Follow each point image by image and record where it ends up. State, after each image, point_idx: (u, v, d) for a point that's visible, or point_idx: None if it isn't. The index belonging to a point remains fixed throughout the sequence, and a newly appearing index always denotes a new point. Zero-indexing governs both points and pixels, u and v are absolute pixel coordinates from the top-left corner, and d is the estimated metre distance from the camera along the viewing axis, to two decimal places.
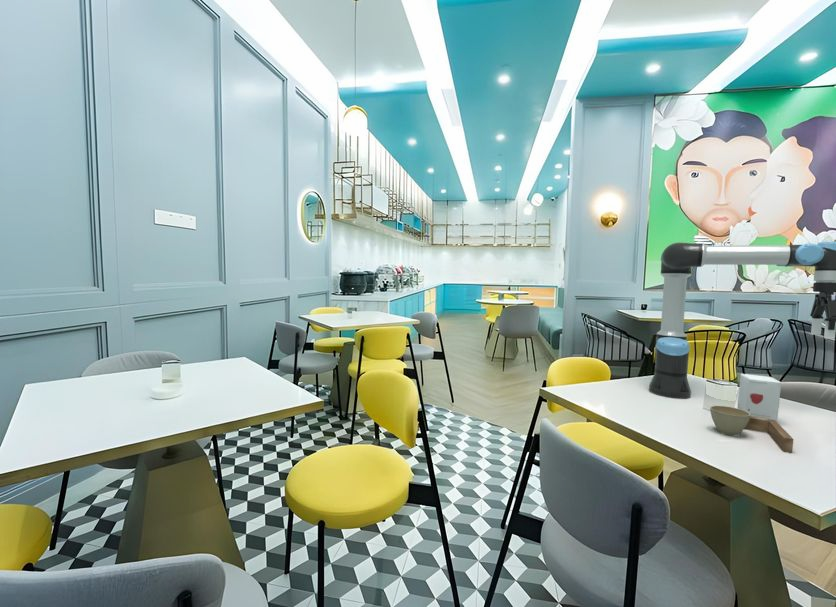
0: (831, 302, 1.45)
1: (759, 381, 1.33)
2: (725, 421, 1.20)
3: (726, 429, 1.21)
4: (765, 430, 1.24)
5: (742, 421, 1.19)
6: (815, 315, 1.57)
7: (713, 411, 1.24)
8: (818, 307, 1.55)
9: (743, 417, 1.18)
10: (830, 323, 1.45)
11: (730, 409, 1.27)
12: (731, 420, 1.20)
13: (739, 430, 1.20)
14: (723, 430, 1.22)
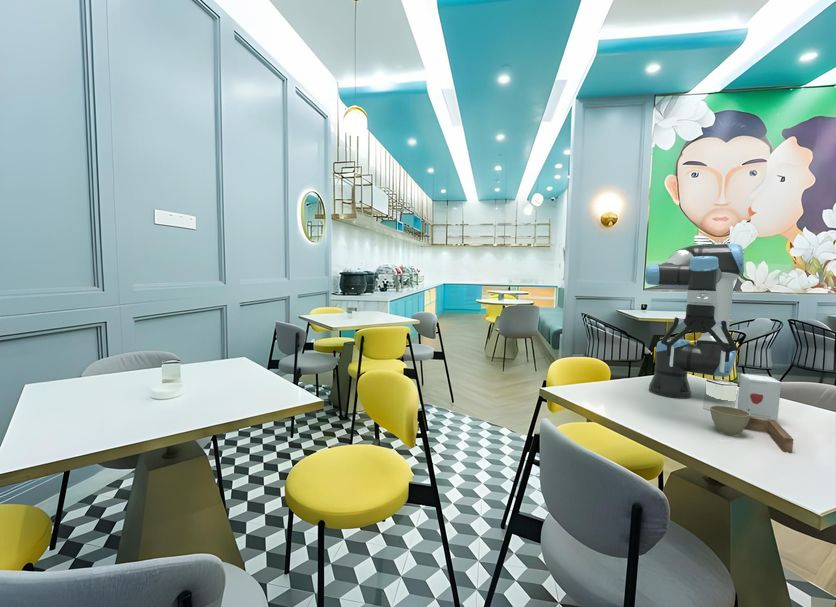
0: (672, 325, 1.31)
1: (759, 381, 1.33)
2: (725, 421, 1.20)
3: (726, 429, 1.21)
4: (765, 430, 1.24)
5: (742, 421, 1.19)
6: (722, 347, 1.25)
7: (713, 411, 1.24)
8: (711, 335, 1.26)
9: (743, 417, 1.18)
10: None
11: (730, 409, 1.27)
12: (731, 420, 1.20)
13: (739, 430, 1.20)
14: (723, 430, 1.22)
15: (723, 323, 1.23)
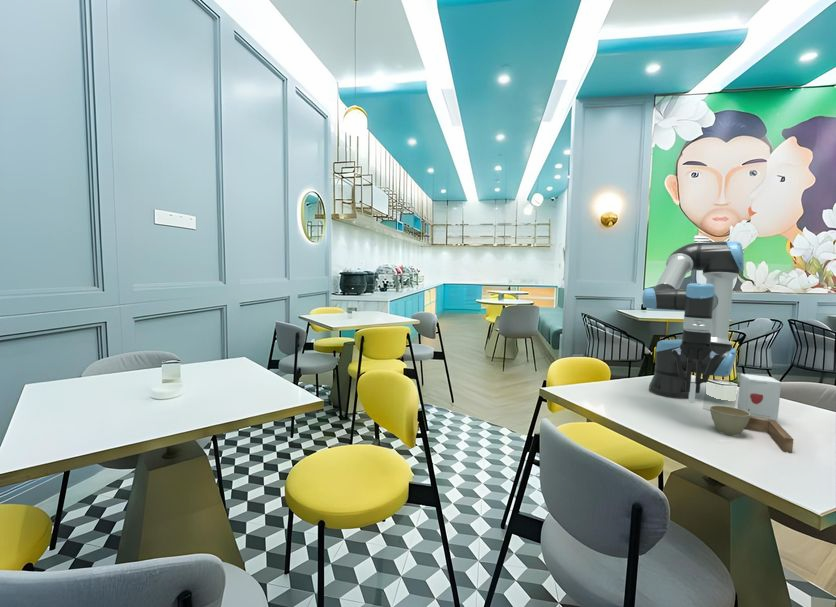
0: (675, 358, 1.30)
1: (759, 381, 1.33)
2: (725, 421, 1.20)
3: (726, 429, 1.21)
4: (765, 430, 1.24)
5: (742, 421, 1.19)
6: None
7: (713, 411, 1.24)
8: (696, 363, 1.28)
9: (743, 417, 1.18)
10: None
11: (730, 409, 1.27)
12: (731, 420, 1.20)
13: (739, 430, 1.20)
14: (723, 430, 1.22)
15: (716, 356, 1.23)
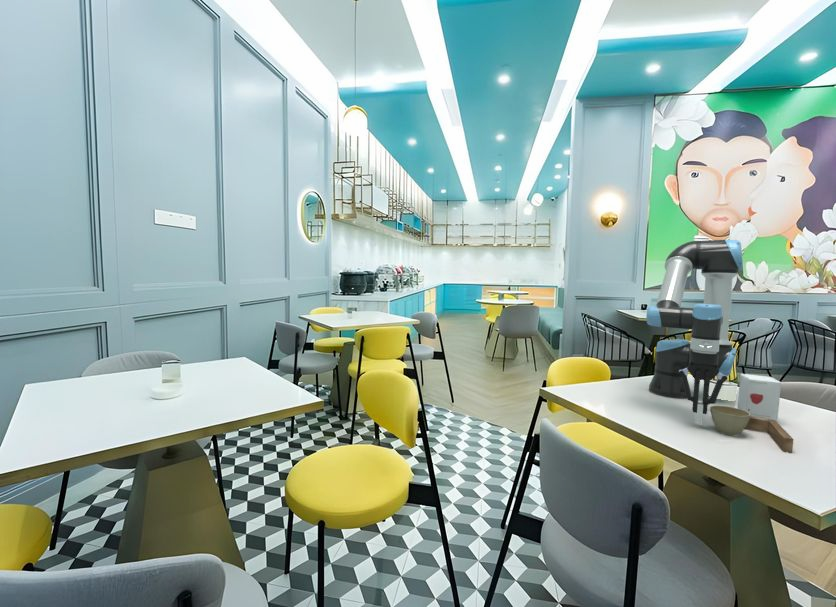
0: None
1: (759, 381, 1.33)
2: (725, 421, 1.20)
3: (726, 429, 1.21)
4: (765, 430, 1.24)
5: (742, 421, 1.19)
6: (703, 397, 1.27)
7: (713, 411, 1.24)
8: None
9: (743, 417, 1.18)
10: None
11: (730, 409, 1.27)
12: (731, 420, 1.20)
13: (739, 430, 1.20)
14: (723, 430, 1.22)
15: (723, 378, 1.23)
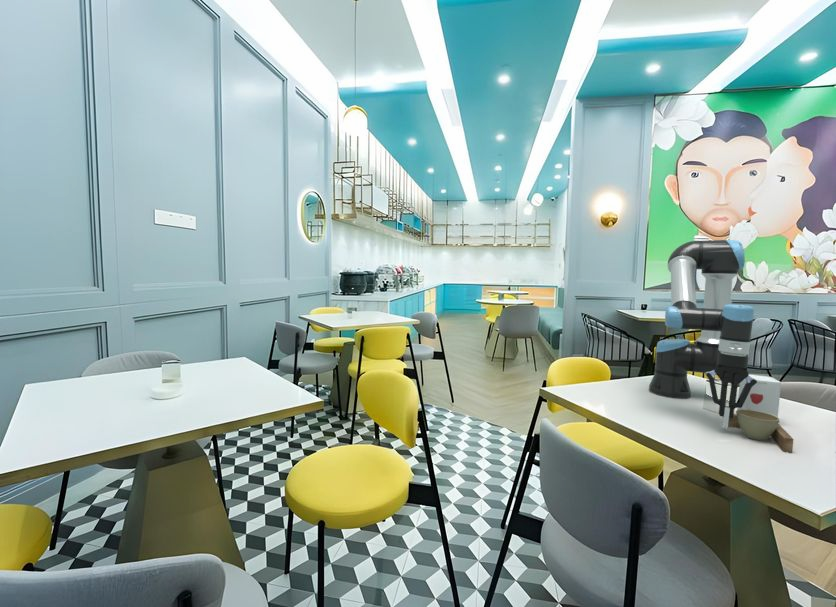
0: (709, 381, 1.26)
1: (759, 381, 1.33)
2: (754, 426, 1.17)
3: (754, 434, 1.18)
4: None
5: (772, 426, 1.15)
6: (729, 400, 1.23)
7: (740, 415, 1.20)
8: (731, 387, 1.23)
9: (772, 422, 1.15)
10: None
11: (756, 413, 1.23)
12: (760, 425, 1.16)
13: (767, 435, 1.16)
14: (751, 435, 1.18)
15: (753, 381, 1.19)
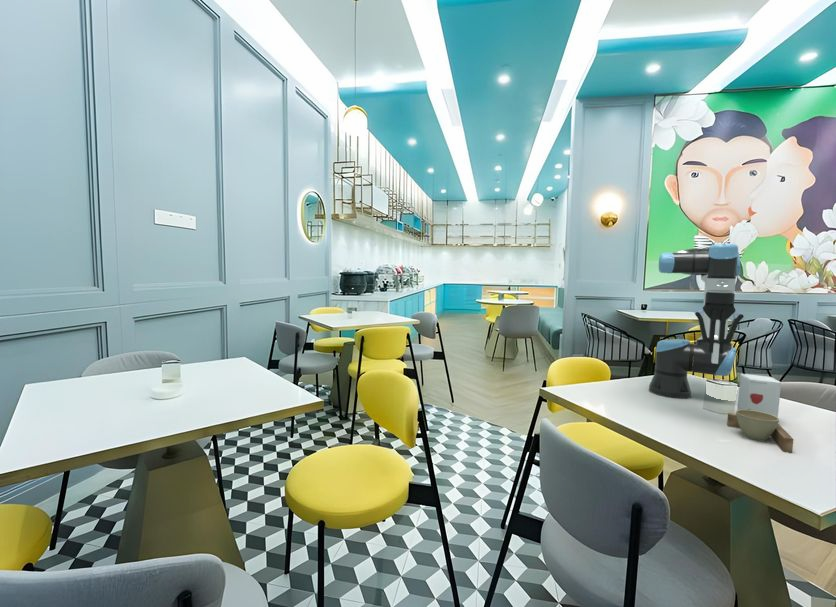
0: (698, 320, 1.31)
1: (759, 381, 1.33)
2: (753, 426, 1.17)
3: (753, 434, 1.18)
4: None
5: (771, 426, 1.15)
6: (719, 337, 1.29)
7: (740, 415, 1.20)
8: (719, 324, 1.29)
9: (772, 422, 1.15)
10: None
11: (756, 413, 1.24)
12: (759, 425, 1.16)
13: (767, 435, 1.16)
14: (751, 435, 1.19)
15: (740, 316, 1.24)
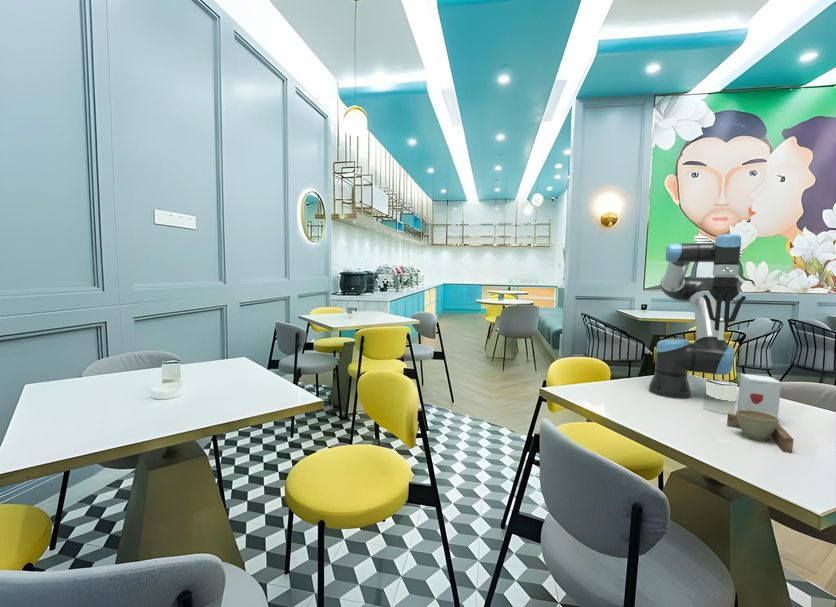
0: (706, 302, 1.48)
1: (759, 381, 1.33)
2: (753, 426, 1.17)
3: (753, 434, 1.18)
4: None
5: (771, 426, 1.15)
6: (724, 317, 1.46)
7: (740, 415, 1.20)
8: None
9: (772, 422, 1.15)
10: None
11: (756, 413, 1.24)
12: (759, 425, 1.16)
13: (767, 435, 1.16)
14: (751, 435, 1.19)
15: (742, 298, 1.41)
